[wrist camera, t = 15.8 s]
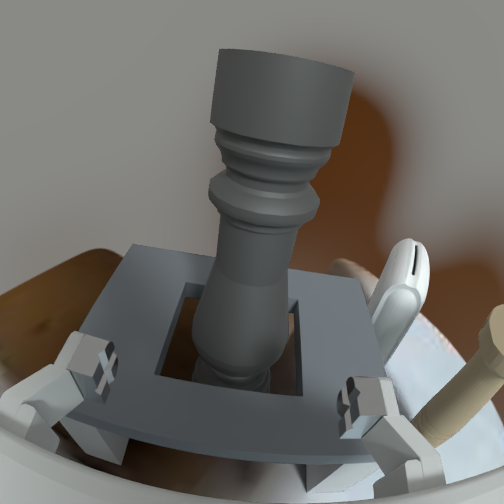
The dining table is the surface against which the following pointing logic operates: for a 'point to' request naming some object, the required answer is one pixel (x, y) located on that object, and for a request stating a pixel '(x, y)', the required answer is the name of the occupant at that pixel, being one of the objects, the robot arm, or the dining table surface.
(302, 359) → the hole stand
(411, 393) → the dining table surface
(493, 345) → the handle
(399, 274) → the photo printer
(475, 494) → the robot arm
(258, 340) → the candle holder
